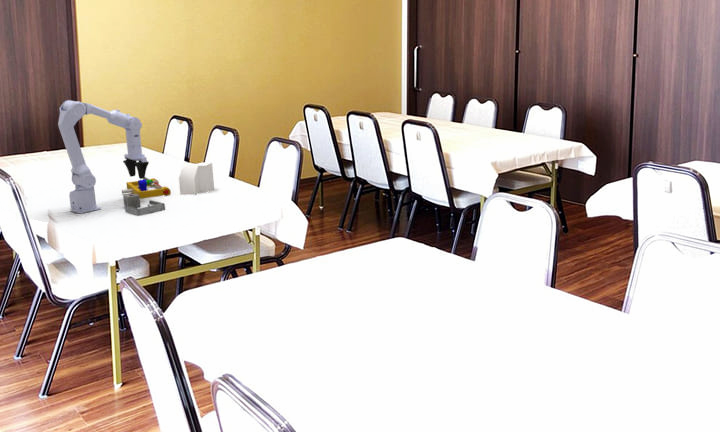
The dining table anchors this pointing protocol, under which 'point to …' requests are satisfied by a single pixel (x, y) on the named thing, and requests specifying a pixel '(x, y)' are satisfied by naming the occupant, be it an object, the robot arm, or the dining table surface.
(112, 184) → the dining table surface
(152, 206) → the bar
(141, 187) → the multicolour toy assembly
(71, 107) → the robot arm
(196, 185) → the white block
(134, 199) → the dice cube
